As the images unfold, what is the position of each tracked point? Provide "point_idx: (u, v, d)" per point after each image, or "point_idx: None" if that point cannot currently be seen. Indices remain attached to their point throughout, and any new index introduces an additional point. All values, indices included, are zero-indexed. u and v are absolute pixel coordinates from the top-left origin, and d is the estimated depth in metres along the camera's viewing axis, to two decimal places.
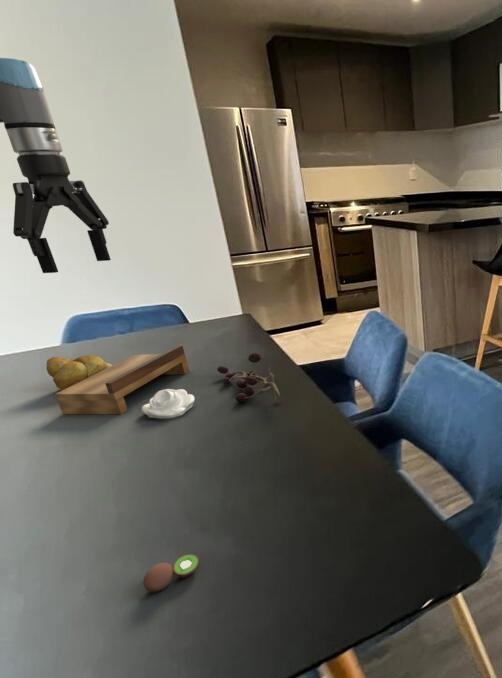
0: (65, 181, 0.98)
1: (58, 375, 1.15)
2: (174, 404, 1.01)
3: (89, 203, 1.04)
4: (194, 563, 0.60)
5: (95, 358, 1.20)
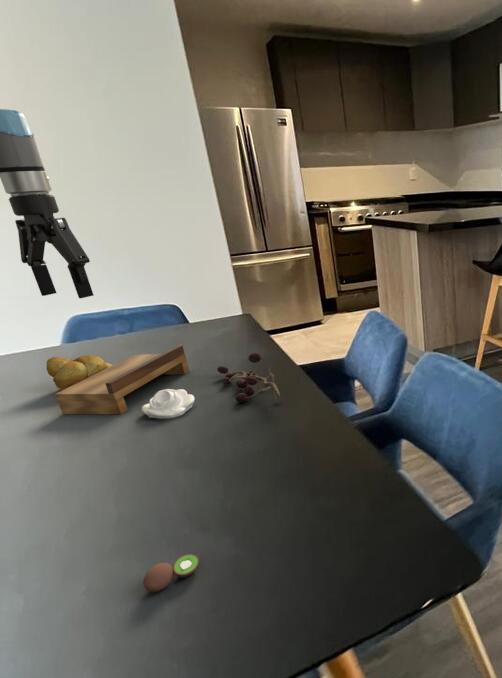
0: None
1: (58, 375, 1.15)
2: (174, 404, 1.01)
3: None
4: (194, 563, 0.60)
5: (95, 358, 1.20)
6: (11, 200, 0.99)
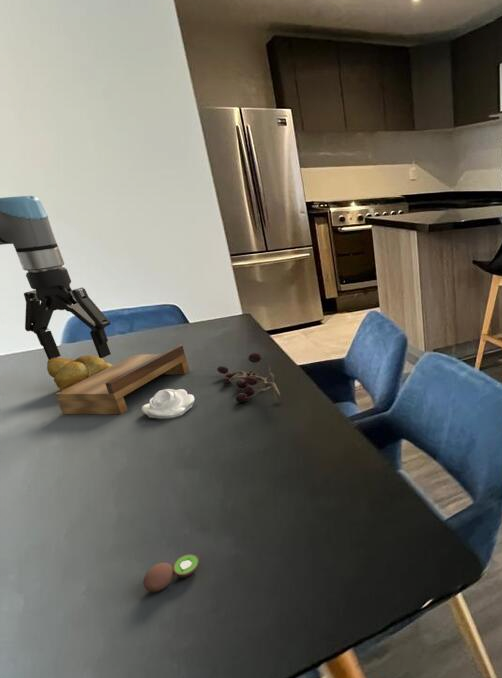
0: None
1: (59, 375, 1.15)
2: (174, 404, 1.01)
3: (38, 309, 1.16)
4: (194, 563, 0.60)
5: (95, 358, 1.20)
6: (31, 276, 1.07)
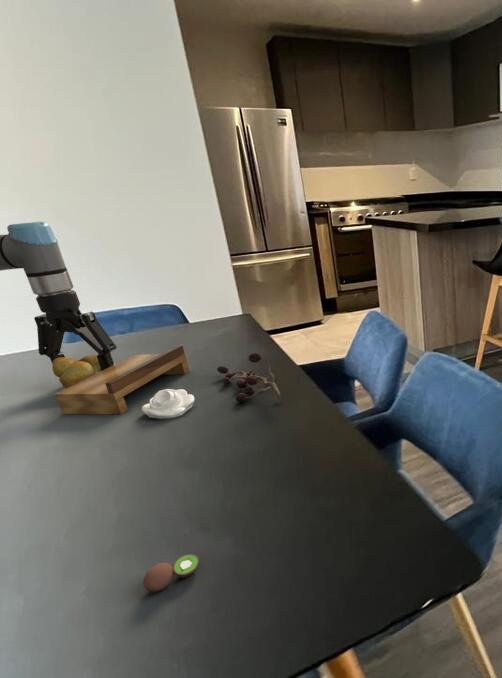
0: None
1: (65, 375, 1.15)
2: (174, 404, 1.01)
3: (50, 332, 1.18)
4: (194, 563, 0.60)
5: None
6: (42, 300, 1.09)
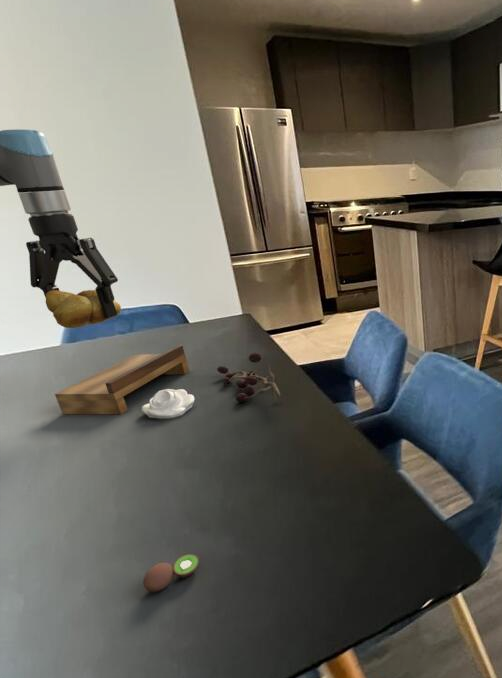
0: None
1: (60, 308, 1.03)
2: (174, 404, 1.01)
3: (43, 262, 1.06)
4: (194, 563, 0.60)
5: None
6: (35, 220, 0.97)
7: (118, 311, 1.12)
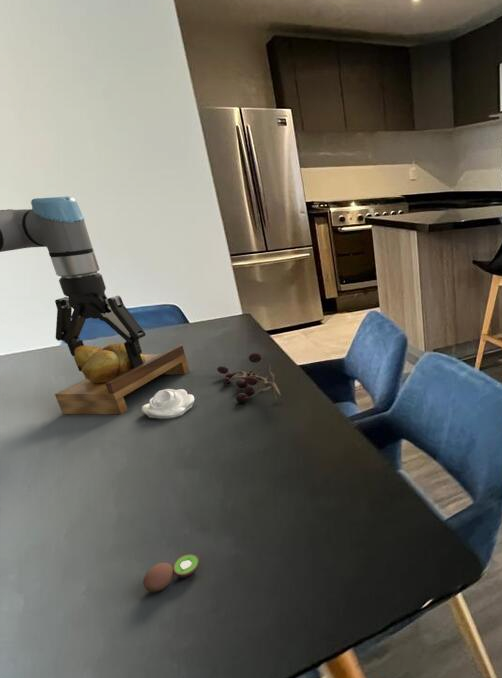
0: None
1: (88, 364, 1.06)
2: (174, 404, 1.01)
3: (70, 317, 1.09)
4: (194, 563, 0.60)
5: None
6: (65, 282, 1.00)
7: None
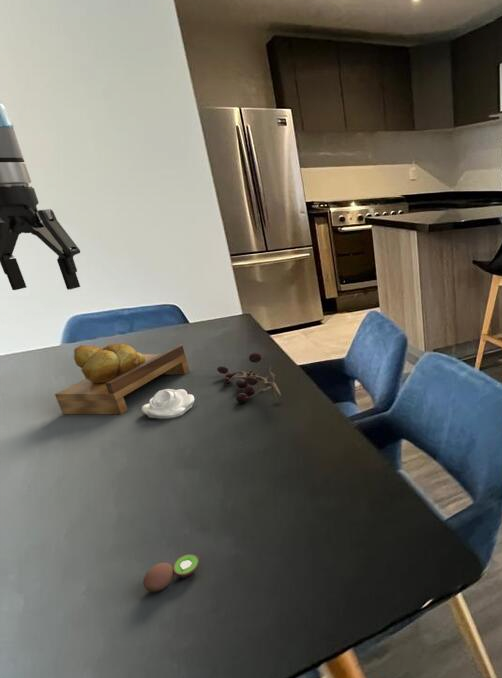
0: None
1: (88, 364, 1.06)
2: (174, 404, 1.01)
3: (2, 233, 1.06)
4: (194, 563, 0.60)
5: (126, 346, 1.11)
6: None
7: (143, 362, 1.15)
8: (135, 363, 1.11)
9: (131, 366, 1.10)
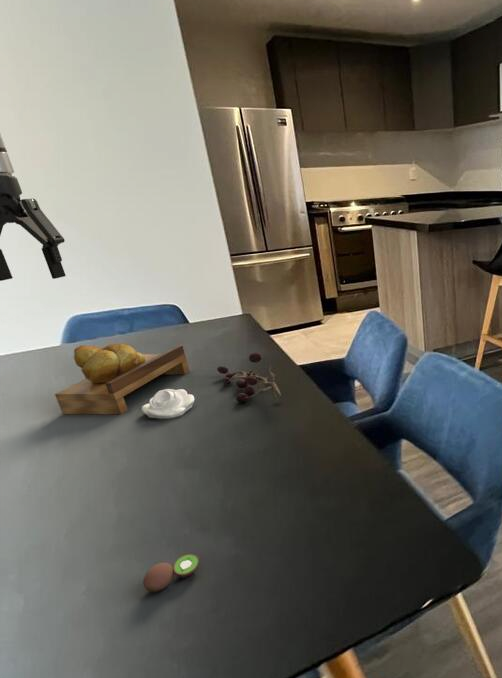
0: None
1: (88, 364, 1.06)
2: (174, 404, 1.01)
3: None
4: (194, 563, 0.60)
5: (126, 346, 1.11)
6: None
7: (143, 362, 1.15)
8: (135, 363, 1.11)
9: (131, 366, 1.10)
